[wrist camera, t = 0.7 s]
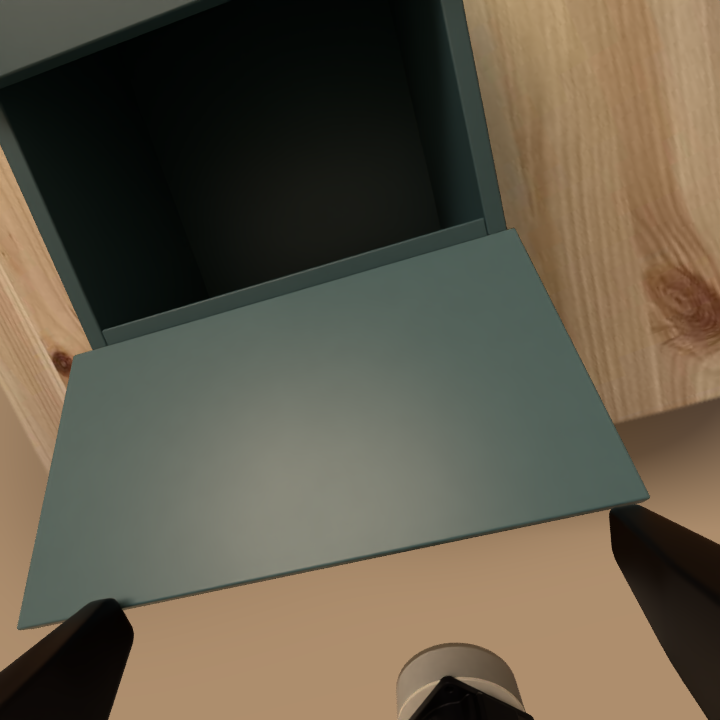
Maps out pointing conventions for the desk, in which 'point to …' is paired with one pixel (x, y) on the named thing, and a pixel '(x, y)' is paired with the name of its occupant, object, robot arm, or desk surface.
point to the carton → (239, 147)
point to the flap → (323, 434)
